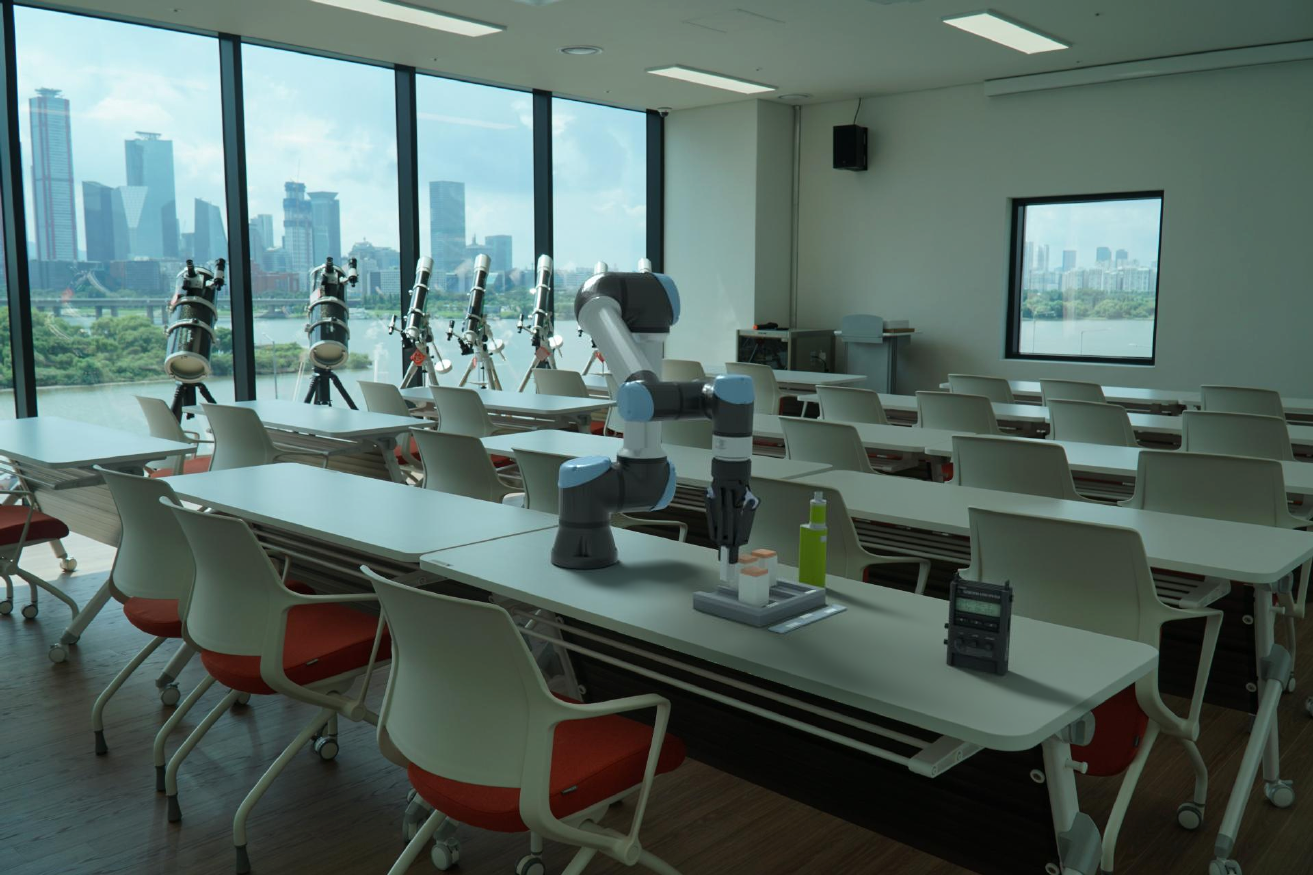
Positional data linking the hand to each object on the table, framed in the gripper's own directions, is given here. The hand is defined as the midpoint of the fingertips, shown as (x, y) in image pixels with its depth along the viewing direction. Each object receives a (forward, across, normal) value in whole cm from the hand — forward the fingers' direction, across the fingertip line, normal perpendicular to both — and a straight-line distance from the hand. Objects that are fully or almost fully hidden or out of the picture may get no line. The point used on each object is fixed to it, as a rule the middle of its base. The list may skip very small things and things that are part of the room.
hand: (727, 578), depth 190 cm
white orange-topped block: (+4, 0, +12) cm, 12 cm away
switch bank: (+6, +4, +6) cm, 9 cm away
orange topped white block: (+4, +7, 0) cm, 8 cm away
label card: (+6, +15, +6) cm, 17 cm away
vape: (+6, +3, +25) cm, 26 cm away
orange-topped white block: (+4, 0, +6) cm, 7 cm away
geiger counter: (+5, +49, +4) cm, 49 cm away
